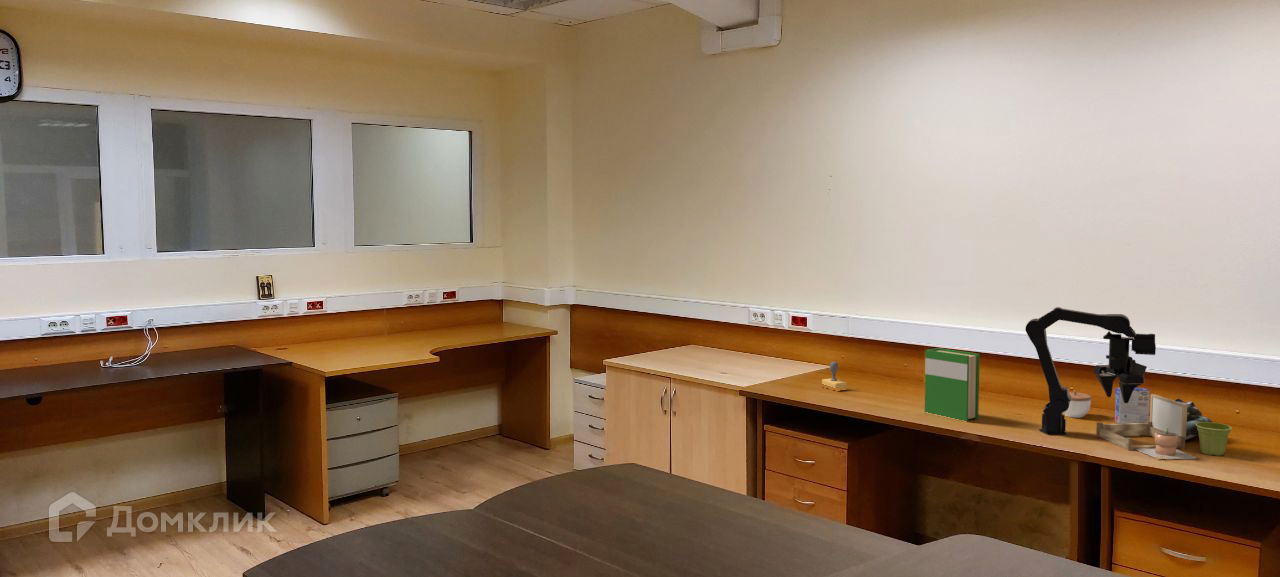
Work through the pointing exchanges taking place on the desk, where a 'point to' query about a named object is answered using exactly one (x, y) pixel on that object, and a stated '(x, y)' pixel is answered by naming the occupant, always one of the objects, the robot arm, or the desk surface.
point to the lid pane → (1168, 415)
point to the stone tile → (1178, 455)
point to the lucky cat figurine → (1193, 419)
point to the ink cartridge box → (1132, 407)
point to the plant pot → (1213, 437)
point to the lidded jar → (1078, 405)
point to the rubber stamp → (834, 378)
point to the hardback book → (952, 383)
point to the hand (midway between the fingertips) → (1117, 400)
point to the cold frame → (1130, 434)
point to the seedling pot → (1166, 443)
